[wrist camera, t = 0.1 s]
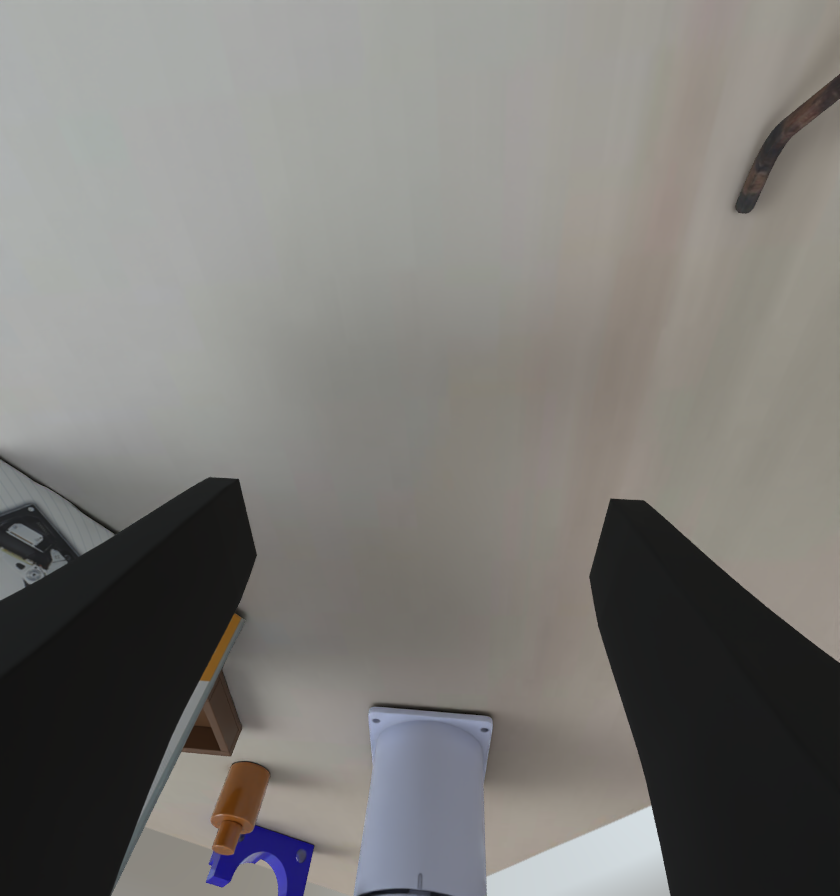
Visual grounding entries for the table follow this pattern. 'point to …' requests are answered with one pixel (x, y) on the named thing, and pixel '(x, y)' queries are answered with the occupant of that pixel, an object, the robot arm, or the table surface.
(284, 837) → the cable holder
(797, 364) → the table surface
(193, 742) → the tray
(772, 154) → the eyeglasses
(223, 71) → the table surface
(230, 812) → the amber bottle
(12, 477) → the hard drive box
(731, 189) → the table surface
